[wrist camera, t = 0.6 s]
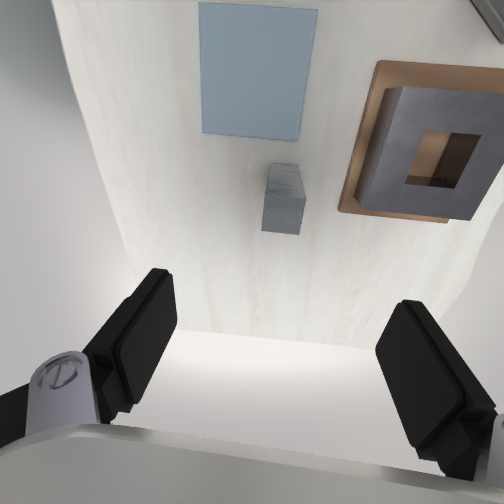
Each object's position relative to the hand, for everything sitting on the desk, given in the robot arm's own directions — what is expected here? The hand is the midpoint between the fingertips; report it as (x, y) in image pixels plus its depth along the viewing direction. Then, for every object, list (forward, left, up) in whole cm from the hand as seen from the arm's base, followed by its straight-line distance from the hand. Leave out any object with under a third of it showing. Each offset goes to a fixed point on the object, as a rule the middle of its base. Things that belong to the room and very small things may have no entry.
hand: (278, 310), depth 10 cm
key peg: (0, 0, -21) cm, 21 cm away
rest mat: (-9, -4, -21) cm, 23 cm away
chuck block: (-4, +13, -21) cm, 25 cm away
